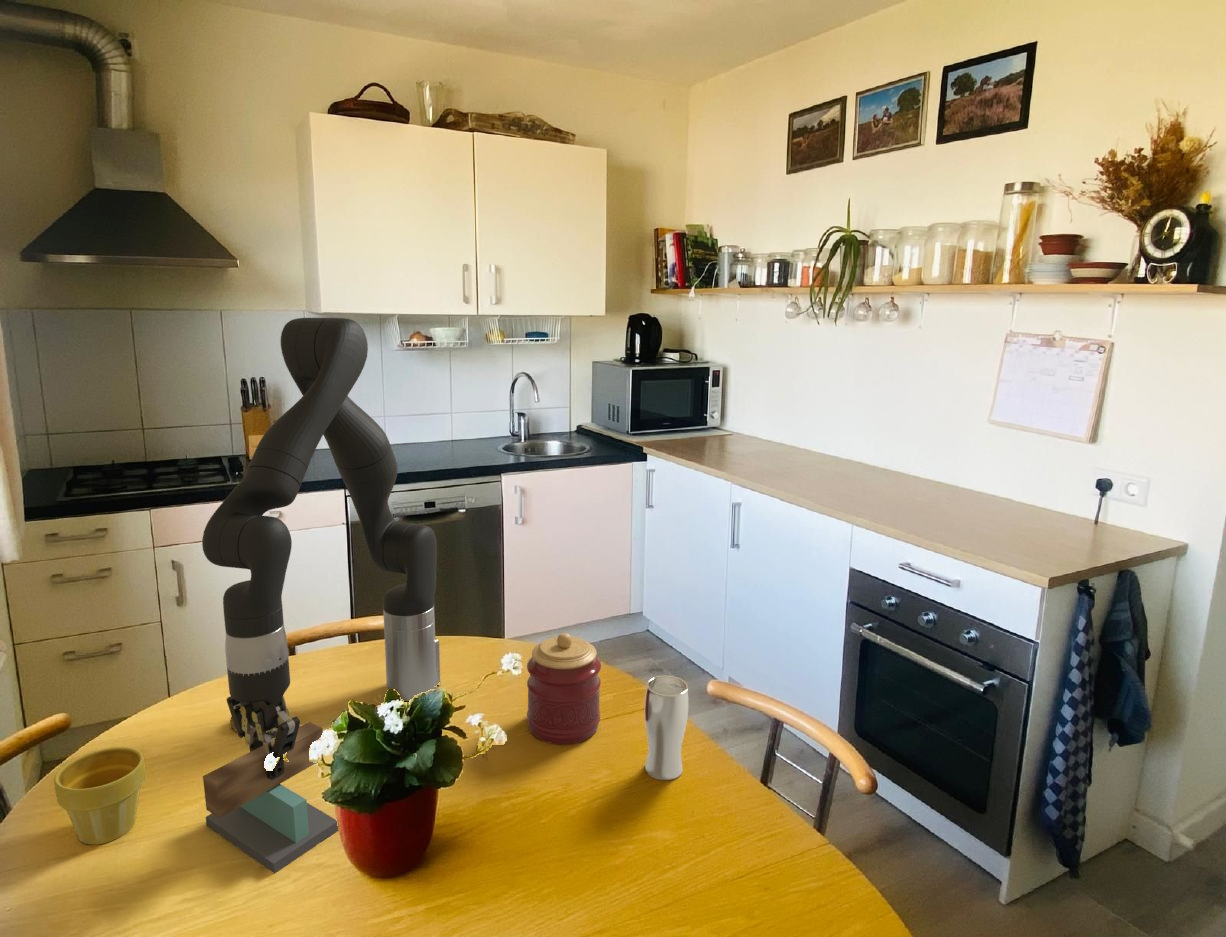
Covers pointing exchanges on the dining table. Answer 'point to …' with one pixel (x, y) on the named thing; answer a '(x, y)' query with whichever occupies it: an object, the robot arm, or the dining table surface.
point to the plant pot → (101, 792)
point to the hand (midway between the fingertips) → (267, 771)
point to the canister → (563, 690)
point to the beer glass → (665, 725)
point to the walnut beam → (255, 774)
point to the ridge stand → (274, 827)
